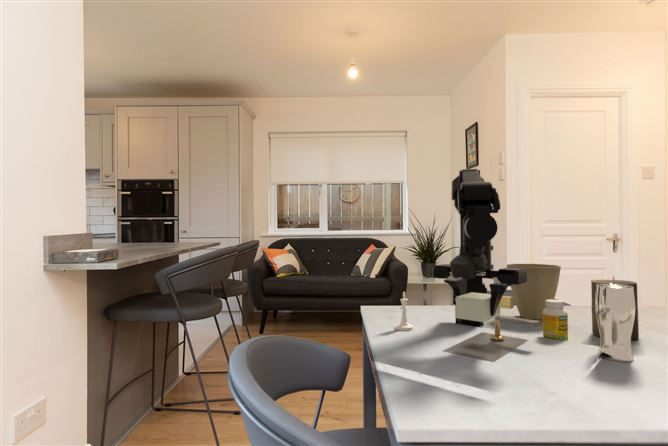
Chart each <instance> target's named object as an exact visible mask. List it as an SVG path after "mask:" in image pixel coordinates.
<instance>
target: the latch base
mask: <svg viewBox="0 0 668 446" xmlns="http://www.w3.org/2000/svg"><path fill="white" fill-rule="evenodd" d="M491 335H495V333H490V332H484V331H481V332H480V333H477V334H475V335H473V336H471V337H469V338H466V339H464V340H463V341H460V342H458V343H456V344H454V345H452V346H450V347H447V348H446V349H443V350H442V352H445V353H450V354H454V355H460V356H464V357H469V358H474V359H477V360H482V361H485V362H486V361H487V362H492V363H495V362H496V361H498V360H499V359H502V358H503V357H504V356H506V355H507V354H509V353H511V352H512V351H514V350H516V349H517V348H518V347H520V346H521V345H523V344H525V343H527V342H528V341H529V339H526V338H520V337H514V336H513V337H512V336H509V335H502V336H504V337H505V340H501V341H499V340H493V339H491Z"/></svg>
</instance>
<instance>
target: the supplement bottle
mask: <svg viewBox="0 0 668 446" xmlns="http://www.w3.org/2000/svg"><path fill="white" fill-rule="evenodd" d="M545 305H546V306H547V308H545V309H544V310H543V320H542V336H543V339H549V340H556V341H560V342H561V341H563V342H568V341H569V329H568V328H569V326H568V325H569V324H568V321H569V320H568V317H569V316H568V311H567V310H566V309H564V307H565V301H564V300H561V299H554V300H546V301H545Z"/></svg>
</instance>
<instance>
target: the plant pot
mask: <svg viewBox="0 0 668 446" xmlns="http://www.w3.org/2000/svg"><path fill="white" fill-rule="evenodd" d="M506 268H523V269H524V270H525V271H526V273H527V282H525V283H522V284H519V285H514V284H513V285H512V286H510V290H511V293H512V297H514V303H515V305H516V308H517V312H518V314H519V316H520V317H521V318H523V319H529V320H535V321H540V320H542V321H543V310H544V309H545V308H547V306H546V305H545V301H546V300H555V299H556V296H557V295H556V294H557V291H558V286H559V281H560V275H561V265H556V264H548V263H547V264H546V263H545V264H543V263H508V264H506Z"/></svg>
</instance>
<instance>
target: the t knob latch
mask: <svg viewBox="0 0 668 446" xmlns="http://www.w3.org/2000/svg"><path fill="white" fill-rule="evenodd" d="M514 303H515V300H514V297H513V296H510V295H509V296H508V295H503V296H502V298H501V301H500V303H499V316H498V317H495V318H494V334H495V335H491V339H493V340H499V341H501V340H505V337H504V336H505V335H503V336H502V335H501V322H507V323H511V324H517V325H523V326H529V327H537V326H540V320H535V319H527V318H523V317H521V318H520V317H516V316H515V317H514V316H510V315H508V316H507V315H502V314H501V308H502V309H508V310H511V309H514V308H515V307H514V306H515V304H514Z"/></svg>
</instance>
